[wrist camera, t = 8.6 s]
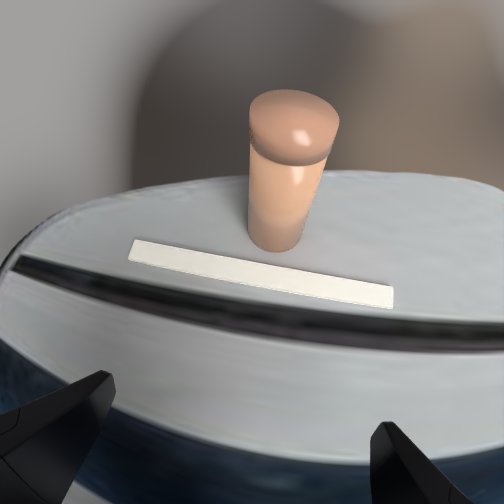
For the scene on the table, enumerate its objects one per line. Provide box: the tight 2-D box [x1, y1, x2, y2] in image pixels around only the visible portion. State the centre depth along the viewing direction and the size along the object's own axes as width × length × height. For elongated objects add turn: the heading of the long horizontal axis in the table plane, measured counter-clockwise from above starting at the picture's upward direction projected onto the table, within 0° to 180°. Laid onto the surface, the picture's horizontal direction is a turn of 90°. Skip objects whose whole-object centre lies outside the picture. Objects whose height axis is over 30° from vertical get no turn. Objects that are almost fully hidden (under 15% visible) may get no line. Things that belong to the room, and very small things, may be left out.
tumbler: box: [248, 89, 339, 252], centre depth 21 cm, size 5×5×13 cm
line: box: [128, 239, 393, 309], centre depth 24 cm, size 24×2×1 cm, turn 79°
